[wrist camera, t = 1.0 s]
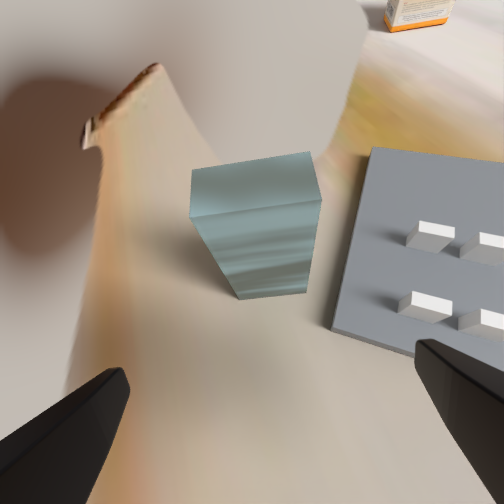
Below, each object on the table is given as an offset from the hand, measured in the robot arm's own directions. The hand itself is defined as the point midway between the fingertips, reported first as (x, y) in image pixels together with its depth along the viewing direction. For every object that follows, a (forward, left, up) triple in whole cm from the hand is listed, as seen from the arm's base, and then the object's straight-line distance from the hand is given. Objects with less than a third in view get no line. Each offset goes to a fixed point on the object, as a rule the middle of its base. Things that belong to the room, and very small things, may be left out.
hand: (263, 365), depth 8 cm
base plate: (+3, -18, -14) cm, 23 cm away
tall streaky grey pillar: (+7, -3, -14) cm, 16 cm away
